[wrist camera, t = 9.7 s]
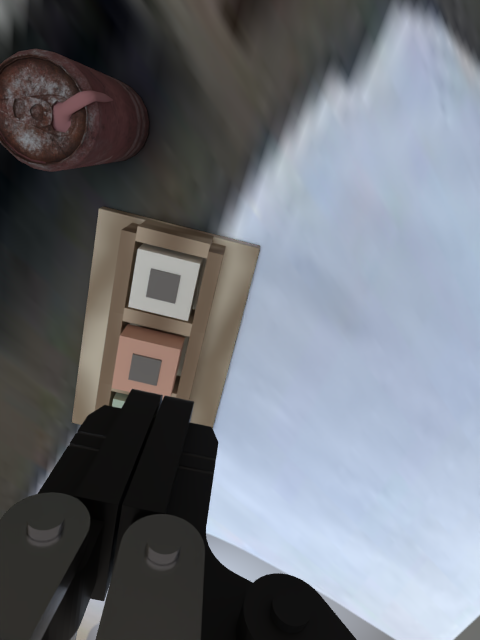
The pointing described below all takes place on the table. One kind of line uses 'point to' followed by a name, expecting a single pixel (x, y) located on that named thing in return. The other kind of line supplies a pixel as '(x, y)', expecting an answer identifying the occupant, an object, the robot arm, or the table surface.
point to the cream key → (164, 281)
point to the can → (67, 113)
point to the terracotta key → (147, 360)
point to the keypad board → (199, 331)
